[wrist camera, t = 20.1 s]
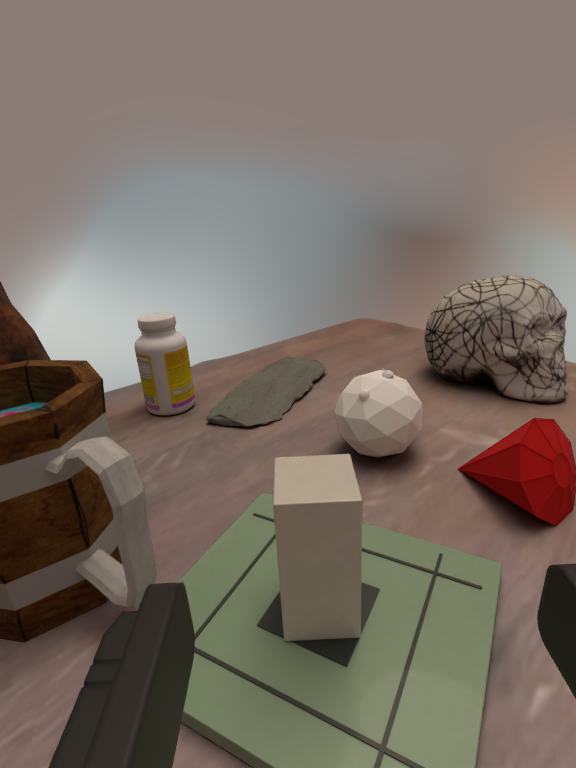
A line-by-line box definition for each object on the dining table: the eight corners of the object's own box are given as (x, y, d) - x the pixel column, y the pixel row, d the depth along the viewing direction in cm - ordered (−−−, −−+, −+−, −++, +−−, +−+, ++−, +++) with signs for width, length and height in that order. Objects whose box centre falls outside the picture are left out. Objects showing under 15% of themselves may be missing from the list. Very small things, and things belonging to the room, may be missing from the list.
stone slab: (328, 377, 72) (273, 364, 76) (330, 361, 71) (274, 349, 74) (268, 445, 54) (198, 423, 57) (269, 425, 52) (197, 404, 56)
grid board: (500, 575, 32) (502, 561, 31) (457, 898, 17) (460, 881, 17) (263, 502, 41) (261, 491, 41) (106, 674, 27) (101, 659, 26)
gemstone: (414, 477, 41) (518, 481, 33) (448, 407, 45) (548, 394, 37) (466, 534, 44) (575, 550, 35) (494, 463, 48) (597, 462, 39)
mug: (-83, 591, 33) (-172, 411, 28) (79, 494, 44) (39, 349, 38) (69, 744, 23) (-23, 510, 18) (233, 571, 34) (209, 389, 28)
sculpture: (492, 418, 54) (509, 294, 48) (404, 367, 72) (408, 272, 66) (589, 397, 58) (615, 280, 52) (482, 353, 76) (493, 262, 70)
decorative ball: (418, 510, 43) (373, 408, 38) (347, 482, 51) (304, 396, 47) (470, 454, 46) (434, 355, 42) (396, 436, 55) (360, 353, 51)
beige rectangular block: (350, 577, 31) (350, 453, 27) (360, 638, 26) (362, 500, 23) (283, 581, 31) (274, 457, 27) (283, 642, 27) (272, 504, 23)
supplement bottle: (199, 396, 65) (187, 309, 60) (190, 416, 59) (176, 321, 54) (154, 398, 65) (138, 312, 60) (140, 418, 59) (121, 324, 54)
